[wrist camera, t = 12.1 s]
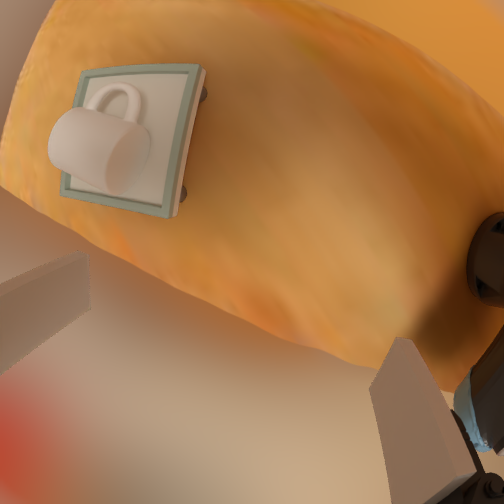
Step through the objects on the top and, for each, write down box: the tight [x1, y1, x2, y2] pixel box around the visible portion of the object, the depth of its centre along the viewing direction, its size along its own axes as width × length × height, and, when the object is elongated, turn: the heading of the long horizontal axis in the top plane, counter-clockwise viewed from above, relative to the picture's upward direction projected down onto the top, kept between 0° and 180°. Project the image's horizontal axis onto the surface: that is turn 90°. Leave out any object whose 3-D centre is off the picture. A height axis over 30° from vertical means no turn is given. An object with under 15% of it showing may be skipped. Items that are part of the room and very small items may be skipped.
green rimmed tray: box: [60, 63, 207, 219], centre depth 32 cm, size 18×18×7 cm
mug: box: [48, 82, 150, 195], centre depth 26 cm, size 12×10×8 cm
